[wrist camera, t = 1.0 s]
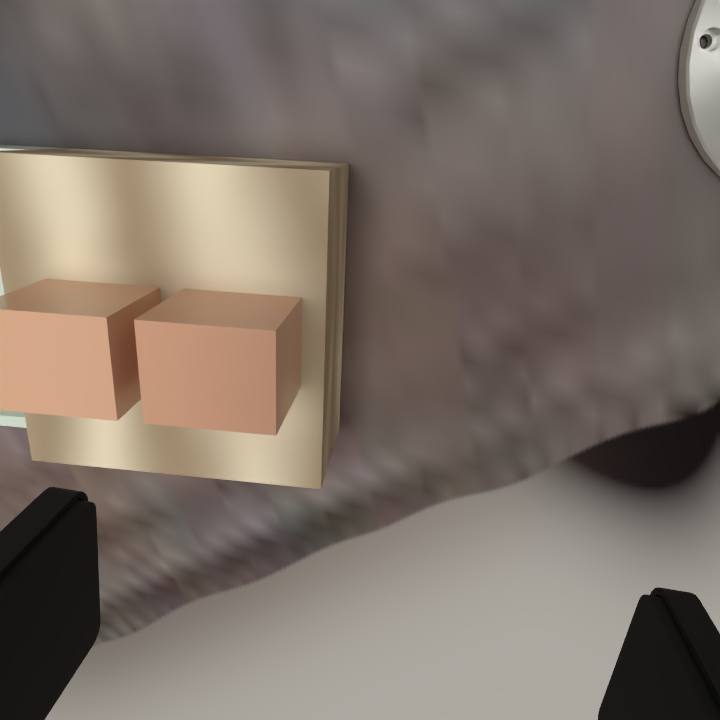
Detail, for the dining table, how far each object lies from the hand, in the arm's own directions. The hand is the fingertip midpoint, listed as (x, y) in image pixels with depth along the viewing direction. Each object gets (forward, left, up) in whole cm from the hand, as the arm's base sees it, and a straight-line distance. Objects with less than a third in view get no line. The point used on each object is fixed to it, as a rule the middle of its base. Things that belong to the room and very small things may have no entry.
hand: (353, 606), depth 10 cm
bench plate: (+10, +1, -22) cm, 24 cm away
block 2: (+6, +1, -16) cm, 17 cm away
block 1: (+12, +1, -16) cm, 20 cm away
